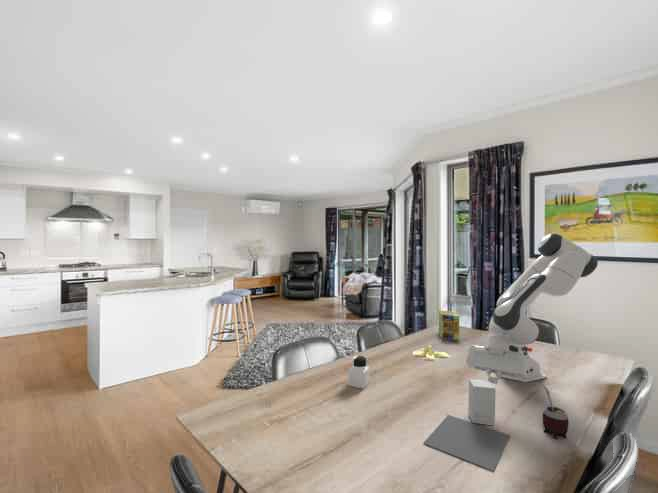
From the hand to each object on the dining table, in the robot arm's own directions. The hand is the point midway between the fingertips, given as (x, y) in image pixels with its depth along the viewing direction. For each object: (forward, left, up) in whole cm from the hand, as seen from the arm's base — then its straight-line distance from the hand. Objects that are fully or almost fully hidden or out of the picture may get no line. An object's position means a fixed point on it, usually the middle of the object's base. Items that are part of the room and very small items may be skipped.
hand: (492, 382), depth 124 cm
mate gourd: (-11, +16, -11) cm, 22 cm away
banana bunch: (-8, -63, -12) cm, 65 cm away
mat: (+19, +14, -11) cm, 26 cm away
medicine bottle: (+41, -32, -11) cm, 53 cm away
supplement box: (+7, +4, -11) cm, 14 cm away
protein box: (-39, -94, -11) cm, 103 cm away
